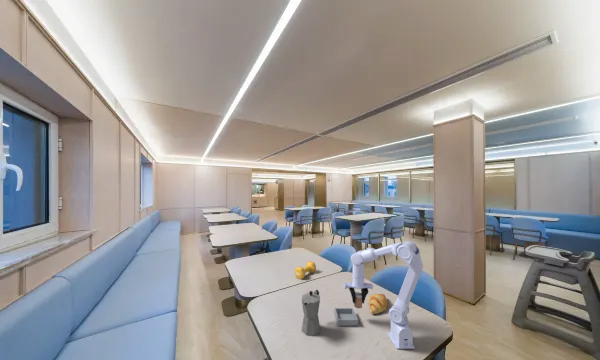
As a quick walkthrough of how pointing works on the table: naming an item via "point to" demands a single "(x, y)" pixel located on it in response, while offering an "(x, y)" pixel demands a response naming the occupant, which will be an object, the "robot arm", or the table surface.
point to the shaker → (358, 300)
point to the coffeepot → (311, 313)
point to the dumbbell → (305, 270)
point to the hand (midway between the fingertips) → (358, 302)
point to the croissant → (377, 303)
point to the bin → (345, 317)
